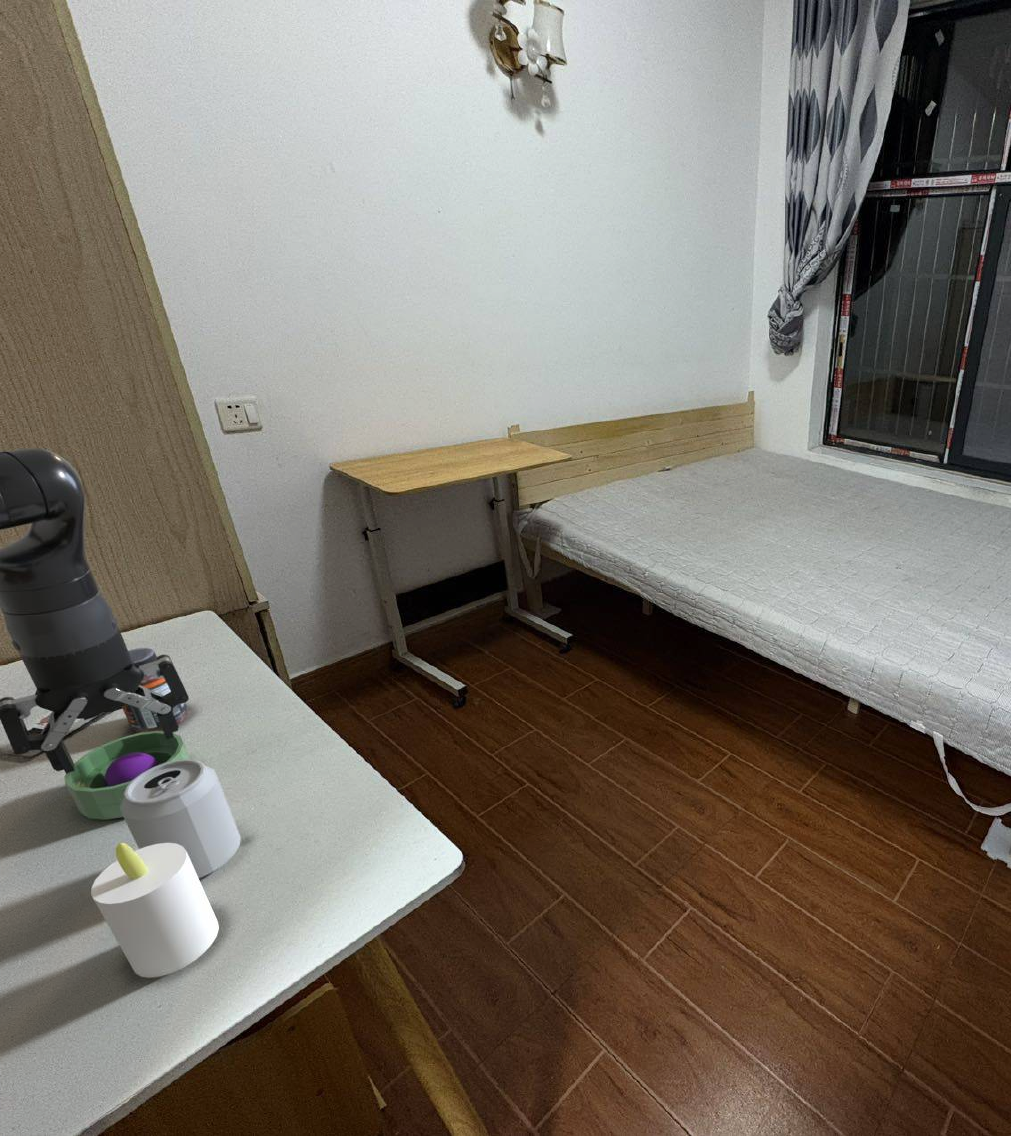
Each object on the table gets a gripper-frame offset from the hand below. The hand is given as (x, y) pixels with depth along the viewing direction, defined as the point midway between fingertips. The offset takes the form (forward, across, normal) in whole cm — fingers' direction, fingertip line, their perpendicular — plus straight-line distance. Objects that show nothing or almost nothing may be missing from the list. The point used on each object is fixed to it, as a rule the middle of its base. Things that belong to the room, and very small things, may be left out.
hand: (121, 751), depth 73 cm
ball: (+3, 0, 0) cm, 3 cm away
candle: (+6, 0, +27) cm, 28 cm away
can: (+6, -3, +17) cm, 18 cm away
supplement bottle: (+6, -4, -14) cm, 16 cm away
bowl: (+6, 0, 0) cm, 6 cm away
